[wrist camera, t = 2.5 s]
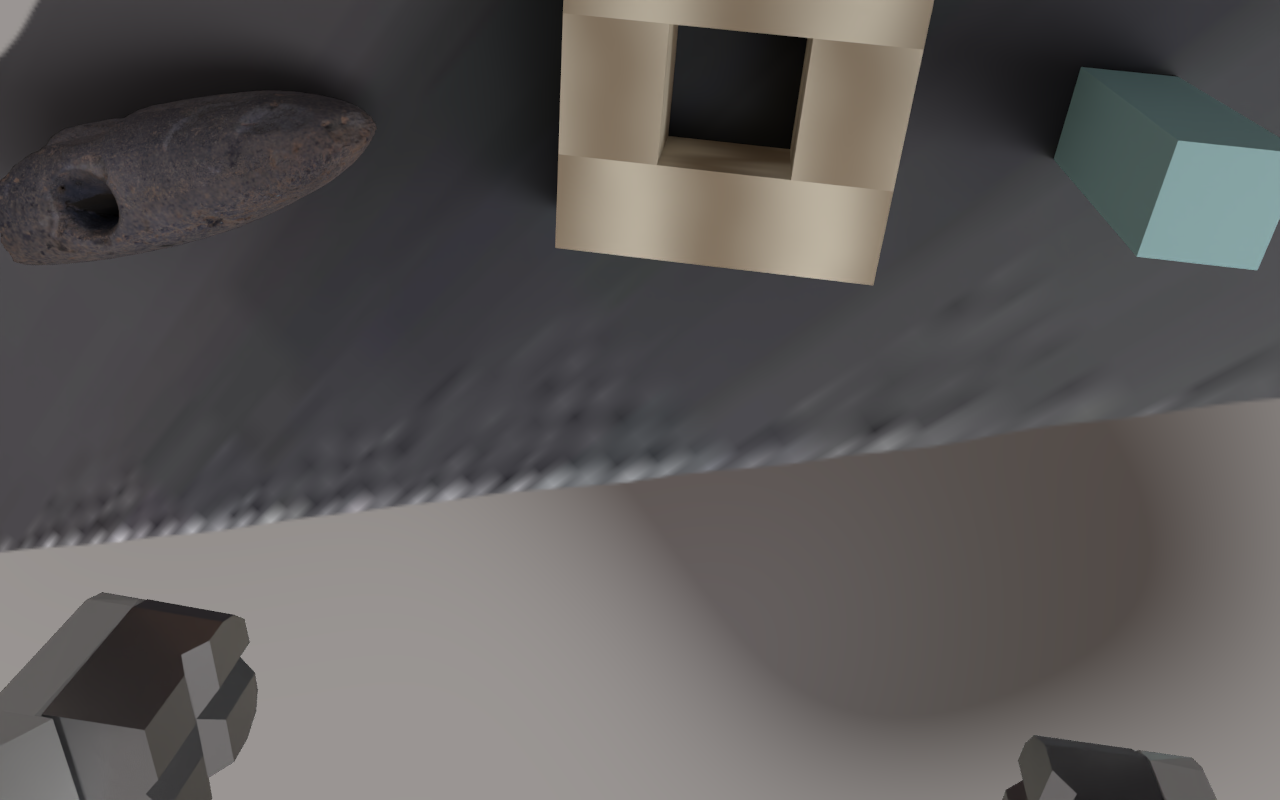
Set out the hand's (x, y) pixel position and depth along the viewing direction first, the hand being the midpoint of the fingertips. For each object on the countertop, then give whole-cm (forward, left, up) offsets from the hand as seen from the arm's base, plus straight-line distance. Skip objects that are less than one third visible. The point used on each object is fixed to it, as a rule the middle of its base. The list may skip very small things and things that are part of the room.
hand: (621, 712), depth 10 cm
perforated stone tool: (+21, +5, -32) cm, 38 cm away
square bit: (-14, 0, -31) cm, 34 cm away
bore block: (0, 0, -31) cm, 31 cm away
